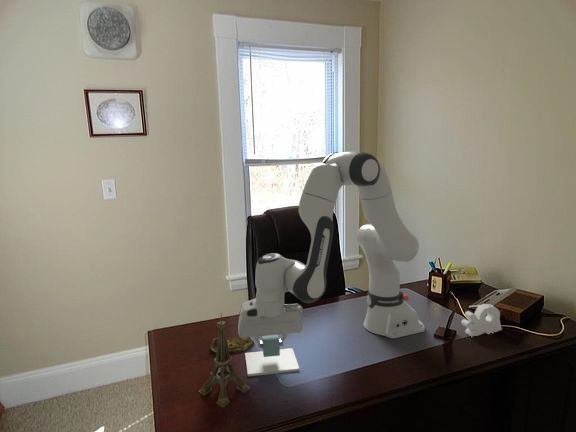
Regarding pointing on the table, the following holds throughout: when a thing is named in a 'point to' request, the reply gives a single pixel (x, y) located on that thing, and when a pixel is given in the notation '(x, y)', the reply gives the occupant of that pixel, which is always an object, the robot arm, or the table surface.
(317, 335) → the table surface
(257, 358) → the board
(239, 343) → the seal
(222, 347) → the eiffel tower
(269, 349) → the cube
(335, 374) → the table surface
